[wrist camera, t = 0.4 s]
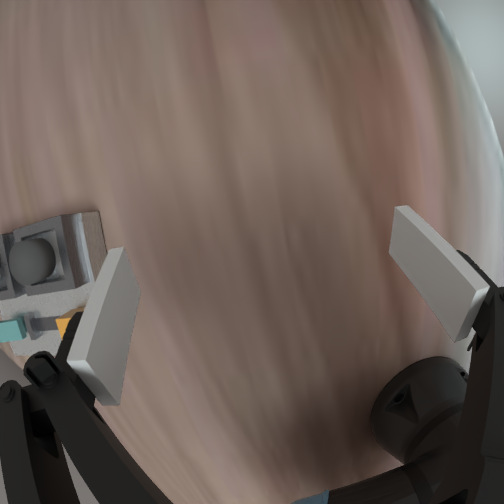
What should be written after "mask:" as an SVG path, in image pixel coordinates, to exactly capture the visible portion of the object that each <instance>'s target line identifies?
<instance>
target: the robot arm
mask: <svg viewBox="0 0 504 504" xmlns="http://www.w3.org/2000/svg"><path fill="white" fill-rule="evenodd" d="M389 254H390V255H391V257H392V258H393V259H394V260H395V262H396V263H397V264H398V265H399V267H400V268H401V269H402V271H403V272H404V273H405V274H406V276H407V277H408V278H409V280H410V281H411V282H412V284H413V285H414V286H415V288H416V289H417V290H418V292H419V293H420V295H421V296H422V297H423V299H424V300H425V301H426V303H427V304H428V306H429V307H430V308H431V310H432V311H433V313H434V314H435V315H436V317H437V318H438V320H439V321H440V323H441V324H442V326H443V327H444V328H445V330H446V331H447V333H448V334H449V336H450V337H451V339H452V340H453V342H456V341H459V340H461V339H464V338H466V337H467V336H468V334H469V332H470V330H471V328H472V327H473V329H474V330H475V331H476V333H475V335H474V337H473V339H472V341H471V343H470V345H469V347H468V349H467V351H470V349H471V347H472V355H471V362H470V369H469V375H468V373H467V372H466V371H465V370H464V369H463V368H462V367H461V366H460V365H459V364H458V363H457V362H455V361H454V360H452V359H449V358H445V357H433V358H428V359H425V360H422V361H419V362H417V363H415V364H413V365H411V366H410V367H408V368H406V369H405V370H403V371H402V372H401V373H399V374H398V375H397V376H396V377H395V378H394V379H393V380H392V381H391V382H390V383H389V384H388V385H387V386H386V387H385V388H384V390H383V391H382V392H381V394H380V395H379V397H378V399H377V400H376V402H375V404H374V407H373V410H372V413H371V429H372V431H373V434H374V436H375V438H376V440H377V442H378V443H379V445H380V446H381V447H382V448H383V449H385V450H386V451H387V452H389V453H390V454H391V455H392V456H394V457H395V458H396V459H398V460H399V461H400V462H402V463H403V464H404V465H403V466H400V467H398V468H395V469H393V470H390V471H388V472H385V473H382V474H380V475H377V476H374V477H372V478H369V479H366V480H363V481H360V482H357V483H354V484H351V485H348V486H345V487H341V488H338V489H335V490H331V491H329V490H325V491H324V492H323V493H321V494H318V495H314V496H311V497H307V498H304V499H300V500H297V501H294V502H293V503H291V504H504V287H499V288H498V287H497V286H496V285H495V283H494V282H493V281H492V280H491V279H490V278H489V277H488V276H487V275H486V274H485V273H484V272H483V271H482V270H481V269H480V267H479V266H478V265H477V264H474V261H473V260H472V259H471V258H470V257H469V256H468V255H466V254H465V253H463V252H461V251H459V250H455V249H454V248H453V247H452V246H451V245H450V244H449V243H448V242H447V241H446V240H445V239H444V238H443V237H442V236H440V235H439V234H438V233H437V232H436V231H435V230H434V229H433V228H432V227H431V226H430V225H429V224H428V223H427V222H426V221H424V220H423V219H422V218H421V217H420V216H419V215H418V214H417V213H416V212H414V211H413V210H412V209H411V208H410V207H409V206H408V205H406V206H398V207H395V211H394V219H393V227H392V234H391V241H390V248H389ZM140 295H141V291H140V288H139V286H138V283H137V280H136V278H135V275H134V273H133V270H132V267H131V265H130V262H129V259H128V256H127V253H126V251H125V248H124V247H119V248H114V249H110V250H109V252H108V254H107V256H106V258H105V261H104V263H103V265H102V268H101V270H100V272H99V275H98V277H97V279H96V282H95V284H94V287H93V289H92V292H91V294H90V297H89V299H88V302H87V304H86V307H85V309H84V311H81V312H76V313H75V314H74V315H73V317H72V318H71V319H70V320H69V322H68V325H67V327H66V330H65V332H64V335H63V338H62V339H63V340H61V343H60V346H59V348H58V351H57V354H56V357H55V358H54V357H53V355H52V354H51V353H50V352H48V351H39V352H37V353H35V354H33V355H32V356H31V357H30V358H29V359H28V360H27V362H26V363H25V366H24V369H23V371H24V375H25V377H26V378H27V379H28V380H29V381H30V382H31V383H32V385H29V386H25V387H21V385H19V384H18V382H17V381H14V380H10V381H7V382H5V383H3V384H2V385H1V387H0V459H1V466H2V472H3V478H4V484H5V489H6V494H7V499H8V504H80V501H79V499H78V496H77V493H76V490H75V487H74V484H73V481H72V479H71V475H70V472H69V468H68V465H67V462H66V458H65V455H64V451H63V447H62V444H63V445H64V447H65V449H66V451H67V453H68V455H69V456H70V458H71V460H72V461H73V463H74V465H75V467H76V468H77V470H78V472H79V473H80V475H81V476H82V478H83V480H84V481H85V483H86V484H87V485H88V487H89V489H90V490H91V492H92V493H93V495H94V496H95V498H96V499H97V501H98V502H99V503H100V504H173V503H172V502H171V501H170V500H169V499H168V498H167V497H166V496H165V495H164V494H163V492H162V491H161V490H160V489H159V488H158V487H157V486H156V485H155V484H154V483H153V481H152V480H151V479H150V478H149V477H148V476H147V475H146V473H145V472H144V471H143V470H142V469H141V468H140V466H139V465H138V464H137V463H136V462H135V460H134V459H133V458H132V457H131V455H130V454H129V453H128V452H127V450H126V449H125V448H124V446H123V445H122V444H121V443H120V441H119V440H118V439H117V437H116V436H115V434H114V433H113V432H112V430H111V429H110V428H109V426H108V425H107V423H106V422H105V421H104V419H103V418H102V416H101V415H100V413H99V412H98V410H97V409H96V408H95V407H94V402H95V398H96V399H97V400H98V401H99V402H100V403H101V404H102V405H120V401H121V394H122V387H123V381H124V375H125V369H126V363H127V358H128V352H129V347H130V342H131V337H132V332H133V327H134V322H135V317H136V313H137V308H138V303H139V299H140ZM61 442H62V443H61Z"/></svg>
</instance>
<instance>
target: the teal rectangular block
mask: <svg viewBox="0 0 504 504" xmlns="http://www.w3.org/2000/svg"><path fill="white" fill-rule="evenodd" d="M26 337H27V335H26V332H25V329H24V325H23V322H22V319H21V318H16V319H9V320H3V321H0V343H1V342H9V341H17V340H23V339H24V338H26Z"/></svg>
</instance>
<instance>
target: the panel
mask: <svg viewBox="0 0 504 504" xmlns="http://www.w3.org/2000/svg"><path fill="white" fill-rule="evenodd" d="M36 238H43V239H45V240H47V241H48V242H49V243H50V244H51V246H52V247H53V250H54V252H55V257H56V266H55V269H54V272H53V273H52V275H51V276H50V277H48V278H46V279H43V280H40V281H38V282H35V283H33V284H30V285H22V284H20V283H18V282H17V281H16V280H15V278H14V277H13V275H12V273H11V271H10V267H9V253H10V250H11V248H12V246H13V245H14V244H15V243H17V242H20V241H25V240H30V239H36ZM106 256H107V253H106V248H105V244H104V238H103V233H102V228H101V222H100V217H99V211H98V212H84V213H78V214H68V215H59V216H56V217H53V218H49V219H46V220H43V221H40V222H37V223H34V224H31V225H28V226H25V227H22V228H19V229H16V230H13V233H6V234H1V235H0V273H1V278H0V314H1V318H2V321H3V320H9V319H16V318H21V319H22V322H23V325H24V329H25V332H26V335H27V337H26V338H24V339H23V340H17V341H9V342H10V345H11V348H12V350H13V353H14V355H31V356H32V355H33V354H35V353H37V352H39V351H48V352H50V353H51V354H52V355H56V354H57V351H58V348H59V346H60V343H61V340H62V339H61V336H60V333H59V329H58V326H57V323H56V320H55V319H57V318H59V317H60V316H62V315H64V314H65V313H67V312H68V311H70V310H72V309H76V308H84V307H86V304H87V302H88V299H89V297H90V294H91V292H92V289H93V287H94V284H95V282H96V279H97V277H98V275H99V272H100V270H101V268H102V265H103V263H104V261H105V258H106Z"/></svg>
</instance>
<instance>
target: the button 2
mask: <svg viewBox="0 0 504 504" xmlns="http://www.w3.org/2000/svg"><path fill="white" fill-rule="evenodd" d="M55 266H56V257H55V252H54V250H53V247H52V246H51V244H50V243H49V242H48V241H47V240H45V239H43V238H36V239H30V240H25V241H20V242H17V243H15V244H14V245H13V246H12V248H11V250H10V253H9V267H10V271H11V273H12V275H13V277H14V278H15V280H16V281H17V282H18V283H20V284H22V285H30V284H33V283H35V282H38V281H40V280H43V279H46V278H48V277H50V276H51V275H52V273H53V272H54V269H55Z"/></svg>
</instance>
